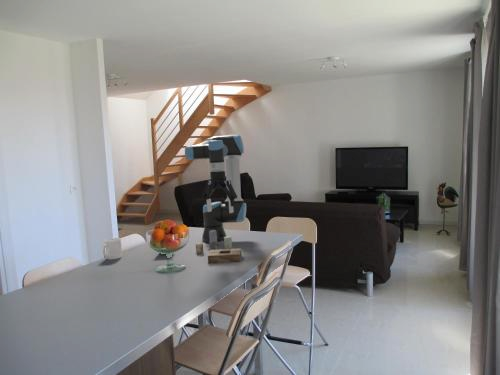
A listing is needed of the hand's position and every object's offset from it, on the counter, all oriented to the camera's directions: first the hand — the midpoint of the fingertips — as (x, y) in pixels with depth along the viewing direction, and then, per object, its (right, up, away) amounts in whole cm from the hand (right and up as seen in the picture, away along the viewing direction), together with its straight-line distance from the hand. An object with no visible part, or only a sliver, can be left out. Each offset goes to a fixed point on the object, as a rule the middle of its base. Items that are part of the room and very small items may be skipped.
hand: (220, 212), depth 210 cm
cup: (-61, -27, +15) cm, 68 cm away
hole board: (+3, -24, 0) cm, 24 cm away
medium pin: (+3, -23, +16) cm, 28 cm away
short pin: (-13, -24, +17) cm, 31 cm away
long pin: (-5, -23, +16) cm, 28 cm away
